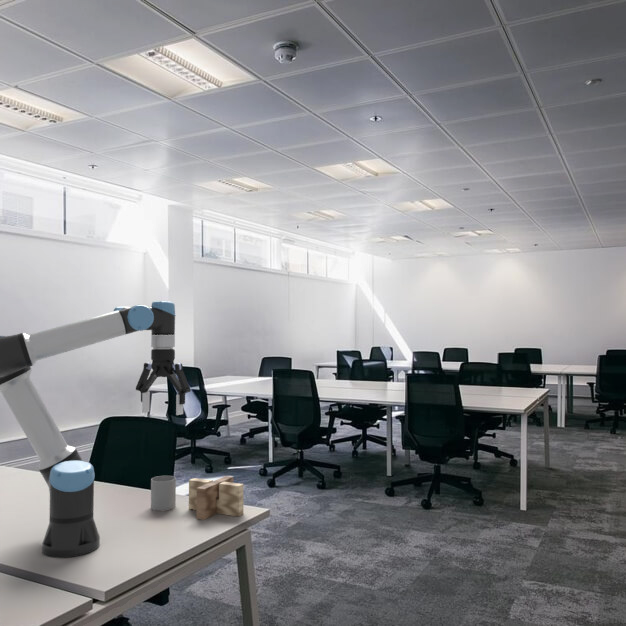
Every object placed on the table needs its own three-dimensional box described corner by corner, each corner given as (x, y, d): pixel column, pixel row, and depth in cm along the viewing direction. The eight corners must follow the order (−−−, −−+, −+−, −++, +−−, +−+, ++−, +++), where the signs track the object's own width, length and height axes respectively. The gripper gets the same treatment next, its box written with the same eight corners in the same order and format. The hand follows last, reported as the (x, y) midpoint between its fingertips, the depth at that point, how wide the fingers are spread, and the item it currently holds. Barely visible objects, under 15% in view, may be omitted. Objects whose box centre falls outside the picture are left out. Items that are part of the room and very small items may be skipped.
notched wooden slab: (243, 513, 199) (243, 484, 199) (238, 516, 196) (238, 486, 197) (193, 506, 207) (194, 478, 207) (188, 509, 204) (188, 480, 205)
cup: (178, 504, 210) (179, 475, 211) (171, 511, 202) (171, 481, 202) (155, 503, 211) (156, 475, 211) (147, 510, 203) (147, 481, 203)
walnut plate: (225, 504, 210) (226, 475, 211) (233, 505, 209) (233, 476, 209) (196, 518, 194) (196, 488, 194) (204, 519, 193) (204, 489, 193)
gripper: (201, 348, 192) (201, 414, 191) (140, 347, 202) (139, 409, 201) (187, 349, 185) (187, 417, 184) (125, 348, 195) (124, 412, 194)
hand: (162, 413), depth 193 cm, fingers open, 13 cm apart
